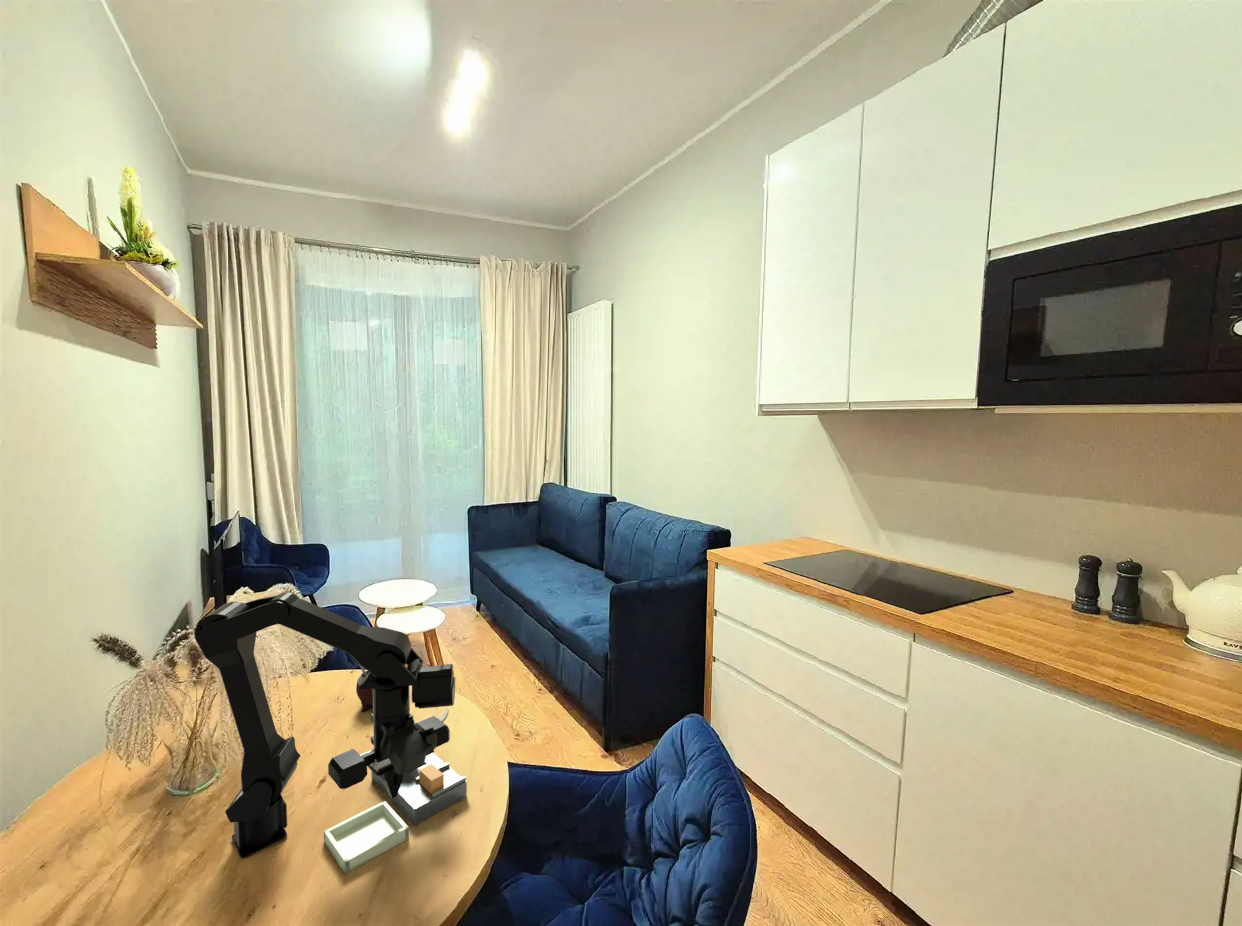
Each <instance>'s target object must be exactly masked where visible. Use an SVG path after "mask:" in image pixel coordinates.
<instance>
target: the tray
mask: <svg viewBox="0 0 1242 926" xmlns="http://www.w3.org/2000/svg"><path fill="white" fill-rule="evenodd" d="M409 830H410V827H409V826H408V825H407V823H406V822H405V821H404V820H403V819H402V818H401V817H400V815H398V814H397V812H395V810H394V809H393V808H392V807H391V806H390V805H389V804H388V802H387V801H386V800H384V801H381V802H379V803H378V804H376V805H374V806H372V807H369V808H368V809H366V810H363V811H361V812H359V813H357V814H355V815H353V816H351V817H350V818H348V819H345V820H344V821H341V822H339V823H338V824H336V825H334V826H332V827H330V828H327V829H326V830H323V842H324V845H325V846H326V848H327V849H328V851H329V852H330V853H331V855H332V857H333V858H334V859H335V861H336V862H337V864H338V865H339V867H340V868H341V870H342V871H343V873H344V875H348V874H349V873H350V872H352V871H354V870H357V869H358V868H360V867H361V866H363V865H365V864H366V863H368V862H370V861H371V860H373V859H375V858H376V857H378V856H380V855H382V854H385V852H388V851H389V850H391V849H394V848H395V847H397V846H398V845H400V844H402V843H403V842H405V841H407V840H408V839H410V833H409V832H410V831H409Z"/></svg>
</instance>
